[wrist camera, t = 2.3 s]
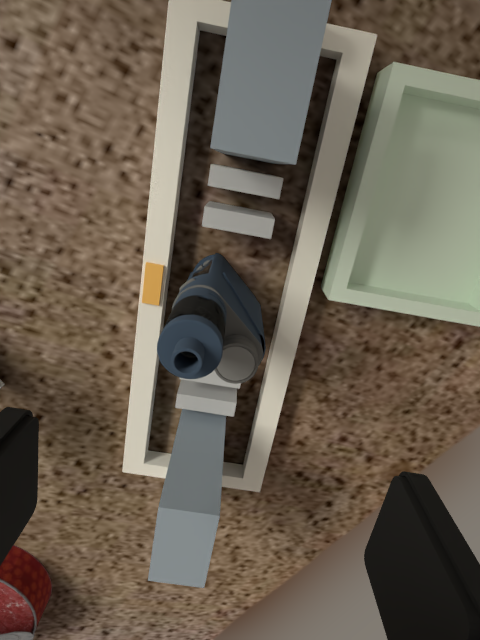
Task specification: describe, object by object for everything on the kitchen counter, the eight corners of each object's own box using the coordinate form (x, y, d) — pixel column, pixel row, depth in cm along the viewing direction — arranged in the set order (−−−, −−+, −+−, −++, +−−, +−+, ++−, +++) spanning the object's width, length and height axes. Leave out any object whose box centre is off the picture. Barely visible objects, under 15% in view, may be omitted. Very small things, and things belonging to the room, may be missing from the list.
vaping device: (215, 242, 24) (192, 312, 13) (267, 309, 26) (287, 423, 14) (182, 268, 25) (132, 356, 13) (235, 332, 26) (229, 459, 15)
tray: (377, 72, 21) (393, 61, 19) (552, 110, 21) (590, 104, 19) (320, 287, 25) (328, 299, 23) (469, 313, 26) (491, 328, 23)
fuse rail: (174, 0, 20) (114, -144, 11) (368, 42, 20) (475, -59, 11) (127, 458, 30) (75, 593, 20) (259, 478, 30) (266, 617, 21)
